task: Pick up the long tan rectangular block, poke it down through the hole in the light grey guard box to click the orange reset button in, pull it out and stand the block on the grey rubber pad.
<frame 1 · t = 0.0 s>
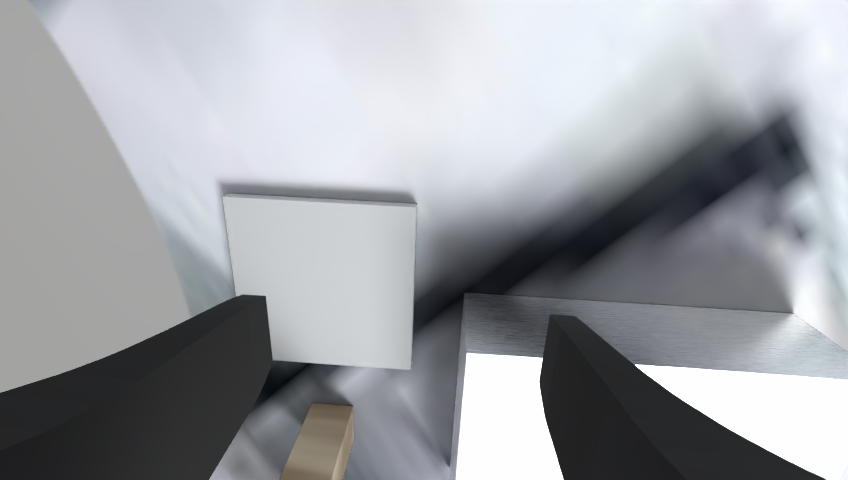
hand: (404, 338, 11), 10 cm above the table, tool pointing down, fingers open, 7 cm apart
long tan rectangular block: (333, 420, 25), on the table
guard box: (603, 399, 24), on the table
pad: (326, 283, 22), on the table
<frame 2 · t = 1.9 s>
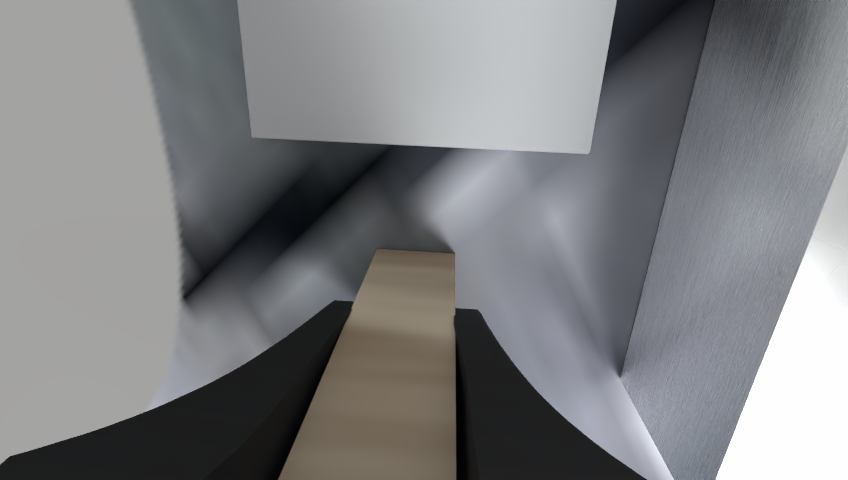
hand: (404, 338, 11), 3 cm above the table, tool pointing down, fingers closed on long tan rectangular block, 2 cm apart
long tan rectangular block: (414, 285, 14), on the table, touching gripper
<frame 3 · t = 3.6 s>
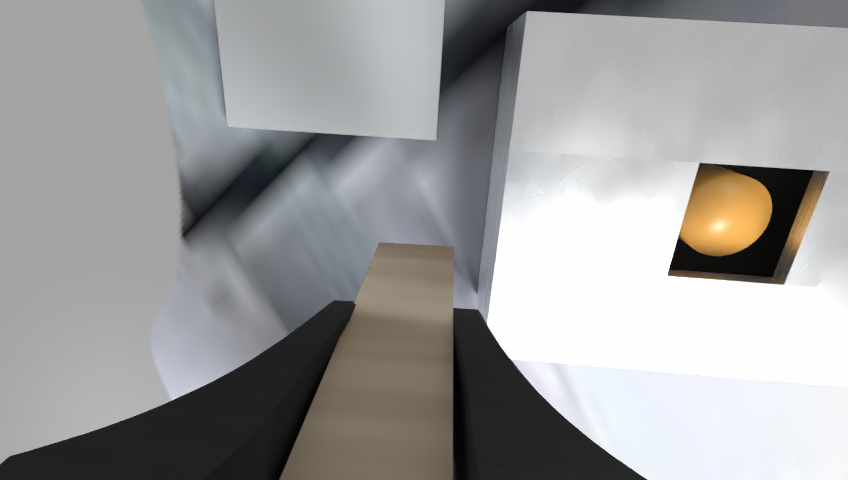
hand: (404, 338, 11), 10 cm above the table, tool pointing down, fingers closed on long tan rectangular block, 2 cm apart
button: (710, 208, 16), point 3 cm above the table, slide at 0.0 cm
long tan rectangular block: (415, 277, 15), point 6 cm above the table, touching gripper
guard box: (673, 188, 19), on the table
pad: (332, 17, 17), on the table
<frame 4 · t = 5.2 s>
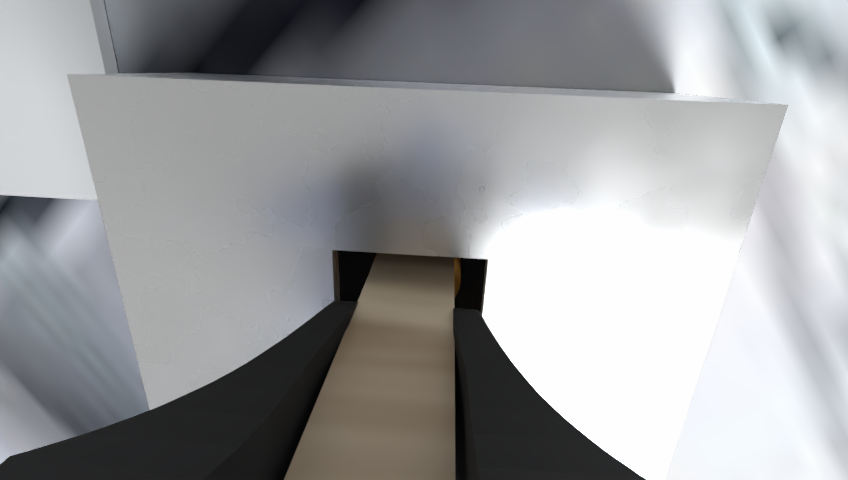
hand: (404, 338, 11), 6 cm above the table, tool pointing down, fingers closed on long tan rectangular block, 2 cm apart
button: (417, 265, 15), point 1 cm above the table, slide at 1.7 cm, touching long tan rectangular block
long tan rectangular block: (415, 282, 14), point 2 cm above the table, touching button, gripper
guard box: (420, 250, 16), on the table
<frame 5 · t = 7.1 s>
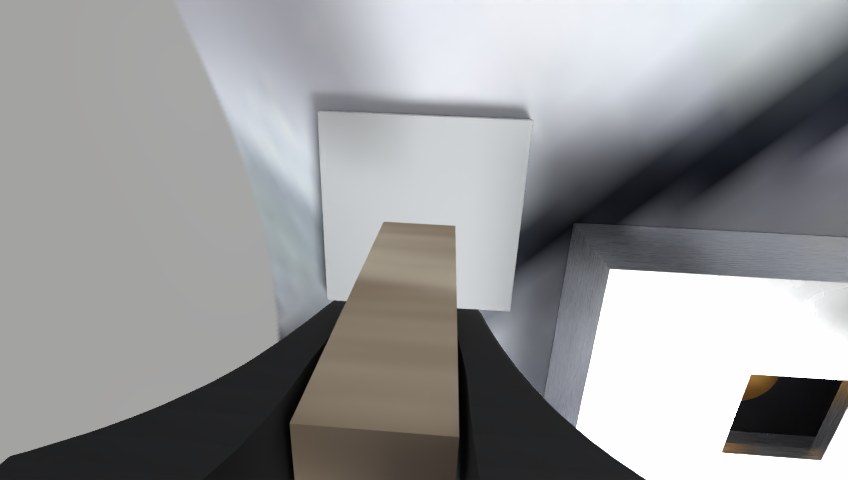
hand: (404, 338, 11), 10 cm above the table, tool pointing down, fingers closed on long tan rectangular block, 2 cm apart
button: (731, 360, 21), point 1 cm above the table, slide at 1.7 cm
long tan rectangular block: (418, 256, 15), point 6 cm above the table, touching gripper
guard box: (716, 344, 22), on the table
pad: (421, 214, 20), on the table
when the fingers open (5 cm above the table, at t = 8.3 s): long tan rectangular block stays where it is, resting on pad.
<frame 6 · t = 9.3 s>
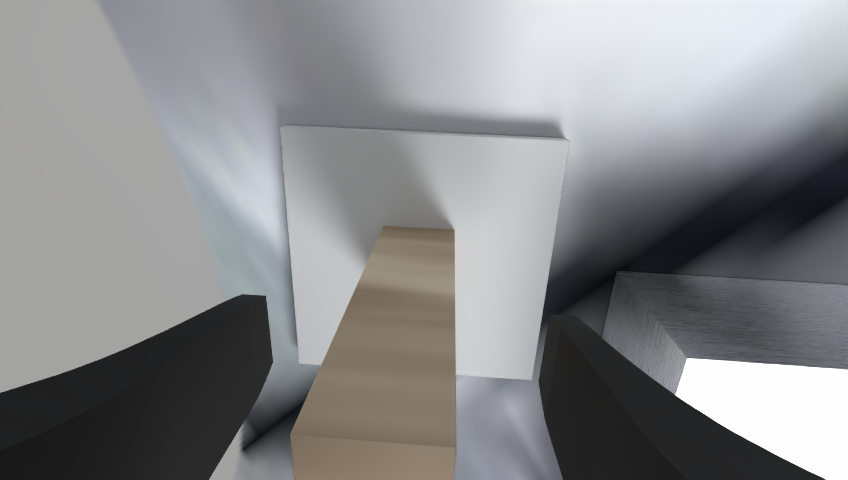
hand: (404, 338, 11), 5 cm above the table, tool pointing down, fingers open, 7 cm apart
long tan rectangular block: (417, 260, 15), point 1 cm above the table, touching pad
guard box: (791, 420, 17), on the table
pad: (419, 259, 16), on the table
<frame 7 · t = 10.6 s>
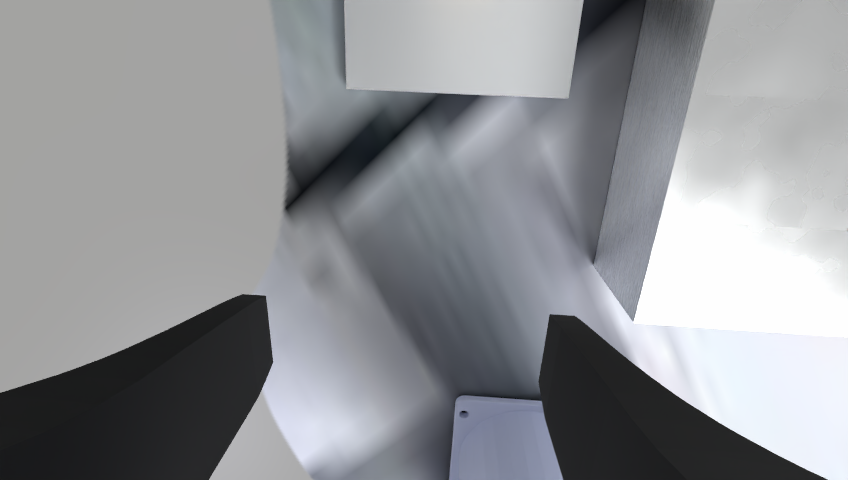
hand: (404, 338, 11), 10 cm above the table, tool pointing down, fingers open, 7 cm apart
guard box: (814, 146, 18), on the table
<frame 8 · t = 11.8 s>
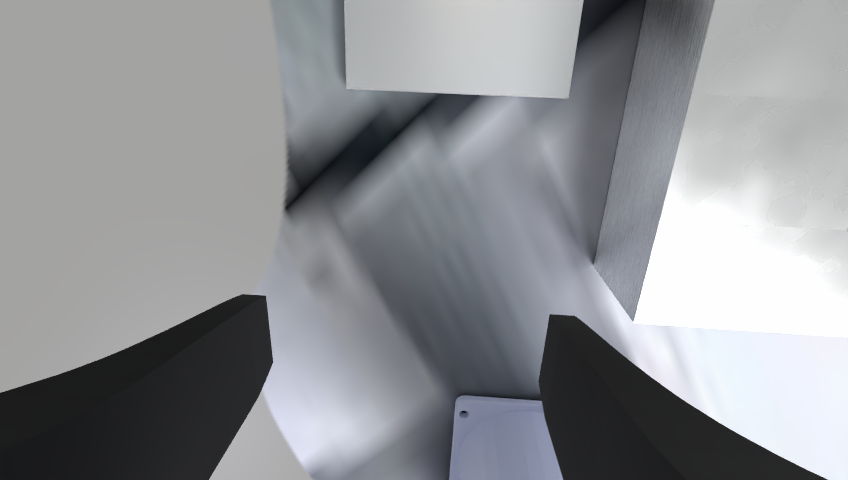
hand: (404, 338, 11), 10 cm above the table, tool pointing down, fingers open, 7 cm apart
guard box: (814, 146, 18), on the table
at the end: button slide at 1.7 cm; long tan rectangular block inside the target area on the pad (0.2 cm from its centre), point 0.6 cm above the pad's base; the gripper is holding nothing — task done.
